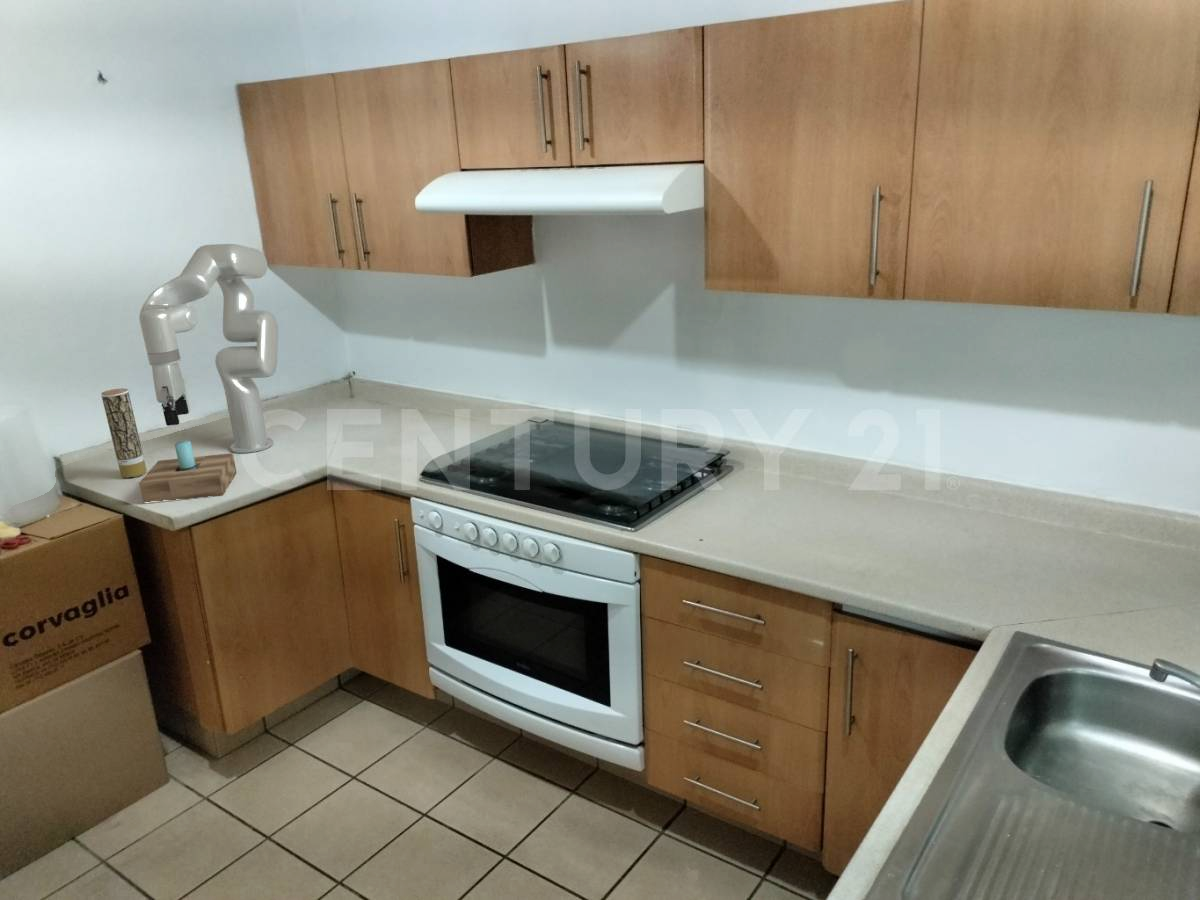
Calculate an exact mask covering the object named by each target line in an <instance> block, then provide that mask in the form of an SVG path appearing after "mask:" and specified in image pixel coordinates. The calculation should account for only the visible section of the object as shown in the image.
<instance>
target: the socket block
mask: <svg viewBox="0 0 1200 900" xmlns="http://www.w3.org/2000/svg"><path fill="white" fill-rule="evenodd" d="M194 460H195V464H196V470H188V471H180V468H179V462H178V458H173V459H163V460H162V459H161V460H158V461H157V462H156V463H155V464H154V465H153V466H152V467H151V469H149V471H148V472H146V473H145V474H144V476H143V477H142V479H141V480H140V481H139V482H138V484H139V485H138V486H139V489H140V493H141V497H142V500H143V501H142V502H143V503H144V502H151V501H163V500H176V499H185V500H191V499H190V498H194V499H200V498H199V497H204V498H209V497H208V496H213V497H220V496H221V495H222V496H224V495H225V493H226V492H227V490H228V488H229V487H230V485H231V483H232V481H233V480H234V478H235V477H236V475H237V474H238V473H237V466H236V462H235V458H234V452H232V453H230V452H229V453H220V454H211V455H200V456H194ZM234 476H235V477H234ZM229 484H230V485H229ZM226 489H227V490H226ZM223 494H224V495H223ZM176 501H177V500H176Z"/></svg>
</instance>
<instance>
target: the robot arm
mask: <svg viewBox="0 0 1200 900" xmlns="http://www.w3.org/2000/svg"><path fill="white" fill-rule="evenodd" d="M267 271H268V261H267V258H266V256H265V254H264V253H263V252H262V251H261V250H259V249H256V248H253V247H249V246H245V245H240V244H236V243H218V244H215V243H214V244H205V245H202V246H199V247H198V248H197V249H196V250H195V251H194V253H192V256H191V258H190V259H189V260H188V262H187V263H186V266H185V267H184V269H182V271H181V273H180V274H179V275H177V276H176V277H174V278H172V279H170V280H169V281H167V282H165V283H164V284H162V285H161V286H158V288H155V290H153V291H152V292H151V293H150V294H149V295H148V297H147V298H146V300H145V301H144V302H143V305H142V307H141V309H140V312H139V316H138V317H139V318H138V320H139V324H140V328H141V333H142V337H143V341H144V347H145V349H146V354H147V355H146V356H147V359H148V362H149V363H148V365H149V366H151V367H152V369H151V370H152V371H151V372H152V380H153V385H154V392H155V396H156V402H158V403H160V404H161V407H162V412H163V417H164V420H165V421H164V422H165V424H166V426H168V427H169V426H177V425H179V424H180V419H179V416H180V415H181V416H182V415H188V414H189V413H190V412H189V406H188V402H187V397H186V394H185V392H186V391H185V383H184V378H183V375H182V371H181V368H180V364H179V363H180V362H181V361H182V358H181V355H180V351H179V350H180V349H179V347H178V341H177V336H176V334H178V333H186V332H190V331H192V330H193V329H194V328H195V327H196V326H197V324H198V319H199V317H198V315H199V314H198V312H197V311H196V309H195V308H194V307H193V306H191V304H190V305H189V304H188V303H193V302H195V301H198V300H200V299H202V298H204V297H206V296H207V295H208V294H209V293H210V292H211V289H212V288H213V287H214V285H215V283H216V282H217V284H218V287H219V288H220V289H221V292H222V297H223V306H222V307H223V308H222V309H223V310H222V333H223V337H224V339H226V341H227V342H230V343H236V344H237V343H238V344H239V343H241V344H243V343H256V345H253V346H252V345H251V346H250V345H249V346H247V345H243V346H241V345H240V346H237V345H236V346H235V345H234V346H227V347H224V348H222V349H220V350H219V351H218V352H217V353H216V356H215V366H216V370H217V372H218V375H219V378H220V379H221V382H222V386H223V389H224V395H225V399H226V404H227V410H228V414H229V415H228V416H229V420H230V424H231V431H232V435H233V440H234V442H233V443H231V445H230V446H229V449H230V452H232V453H235V454H248V453H254V452H259V451H263V450H266V449H269V448H270V447H272V446H273V445H274V439H273V438H271V437H268V434H267V429H266V425H265V424H266V423H265V417H264V414H263V408H262V401H261V396H260V391H259V388H258V387H257V384H256V383H255V381H253V379H260V378H262V379H263V378H264V379H265V378H270V377H272V376H273V375H274V374H275V373H276V370H277V367H278V345H279V344H278V342H279V326H278V322H277V319H276V317H275V316H274V315H275V314H272V312H271V311H268V310H261V309H260V310H255V309H254V301H255V300H254V295H253V292H252V290H251V289H250V287H249V286H248V285H247V284H246V282H245V281H244V280H247V279H248V280H250V279H252V280H253V279H260V278H261V279H262V277H264V276H265V275H266V273H267Z"/></svg>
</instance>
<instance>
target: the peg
mask: <svg viewBox="0 0 1200 900" xmlns="http://www.w3.org/2000/svg"><path fill="white" fill-rule="evenodd" d="M174 447H175V448H174V449H175V452H176V457H177V458H176V459H178V462H179V468H180V471H188V470H196V464H195V460H194V457H195V455H194V451H193V449H192V448H193V446H192V442H191V440H180V441H178V442H176V443H174Z"/></svg>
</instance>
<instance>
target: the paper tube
mask: <svg viewBox="0 0 1200 900" xmlns="http://www.w3.org/2000/svg"><path fill="white" fill-rule="evenodd" d="M130 397H131V396H130V392H129V389H128V388H114V389H109V390H105V391H102V392H101V400H102V403H103V408H104V411H105V416H106V420H107V424H108V428H109V433H110V437H111V440H112V444H113V449H114V454H115V457H116V461H117V465H118V469H119V472H120V477H122V478H123V477H126V478H125V479H129V478H128V477H135V478H138V477H137V476H139V477H141V476H140V475H142V476H143V474H144V475H146V474H147V467H146V461H145V458H144V454H143V449H142V445H141V440H140V436H139V431H138V427H137V423H136V418H135V415H134V409H133V406H132V402H131V398H130Z"/></svg>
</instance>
